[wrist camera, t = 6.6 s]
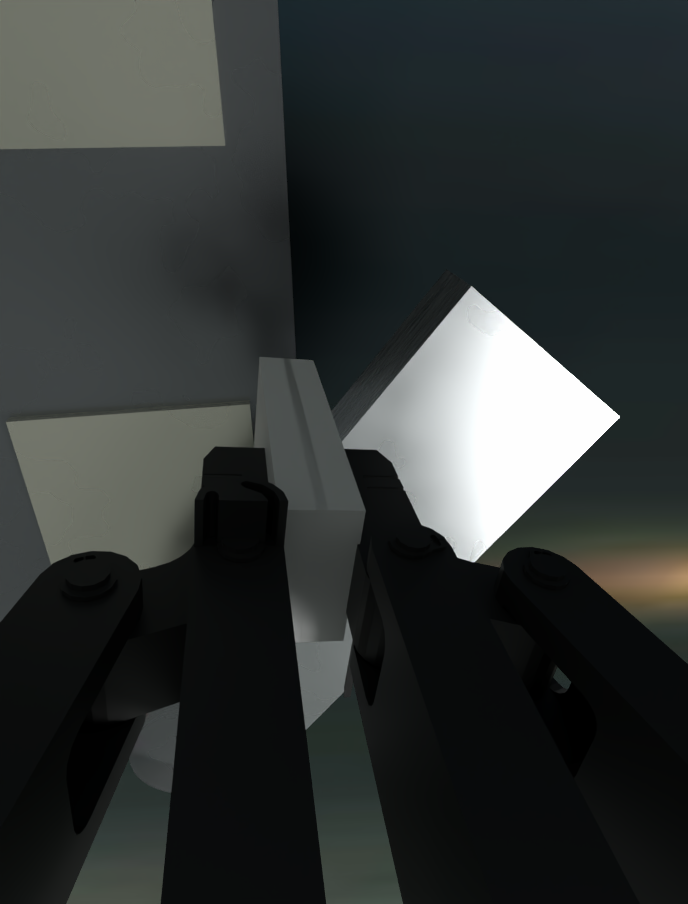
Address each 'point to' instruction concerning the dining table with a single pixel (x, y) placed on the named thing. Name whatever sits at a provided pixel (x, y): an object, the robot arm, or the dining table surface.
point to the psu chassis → (133, 266)
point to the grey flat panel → (440, 453)
